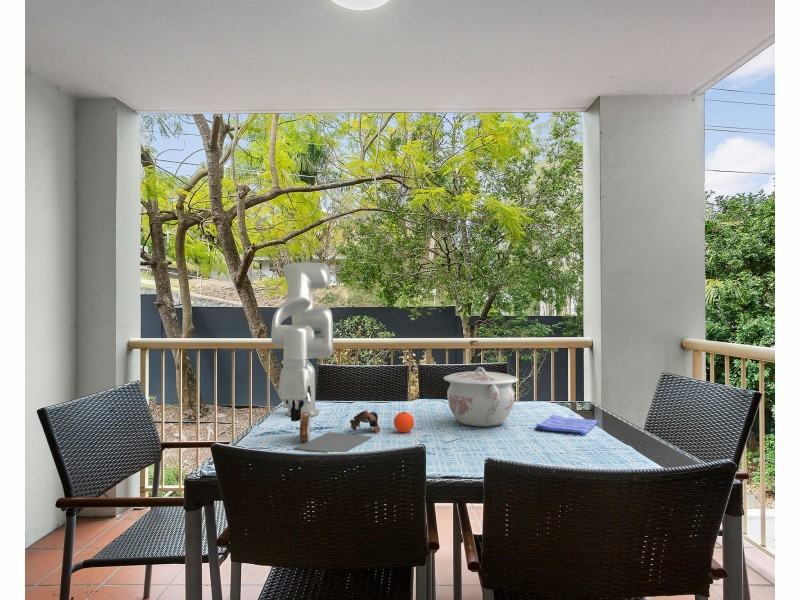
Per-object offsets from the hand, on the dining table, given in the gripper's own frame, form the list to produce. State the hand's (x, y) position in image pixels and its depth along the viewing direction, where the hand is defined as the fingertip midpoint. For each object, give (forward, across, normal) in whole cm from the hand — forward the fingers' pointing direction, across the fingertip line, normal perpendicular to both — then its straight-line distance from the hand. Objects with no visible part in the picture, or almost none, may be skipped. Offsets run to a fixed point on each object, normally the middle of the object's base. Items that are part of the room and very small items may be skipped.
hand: (295, 420), depth 191 cm
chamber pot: (+6, +50, +46) cm, 68 cm away
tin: (+6, +4, 0) cm, 7 cm away
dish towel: (+7, +80, +53) cm, 96 cm away
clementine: (+6, +29, +23) cm, 37 cm away
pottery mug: (+6, +16, +19) cm, 26 cm away
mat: (+6, +14, 0) cm, 16 cm away
